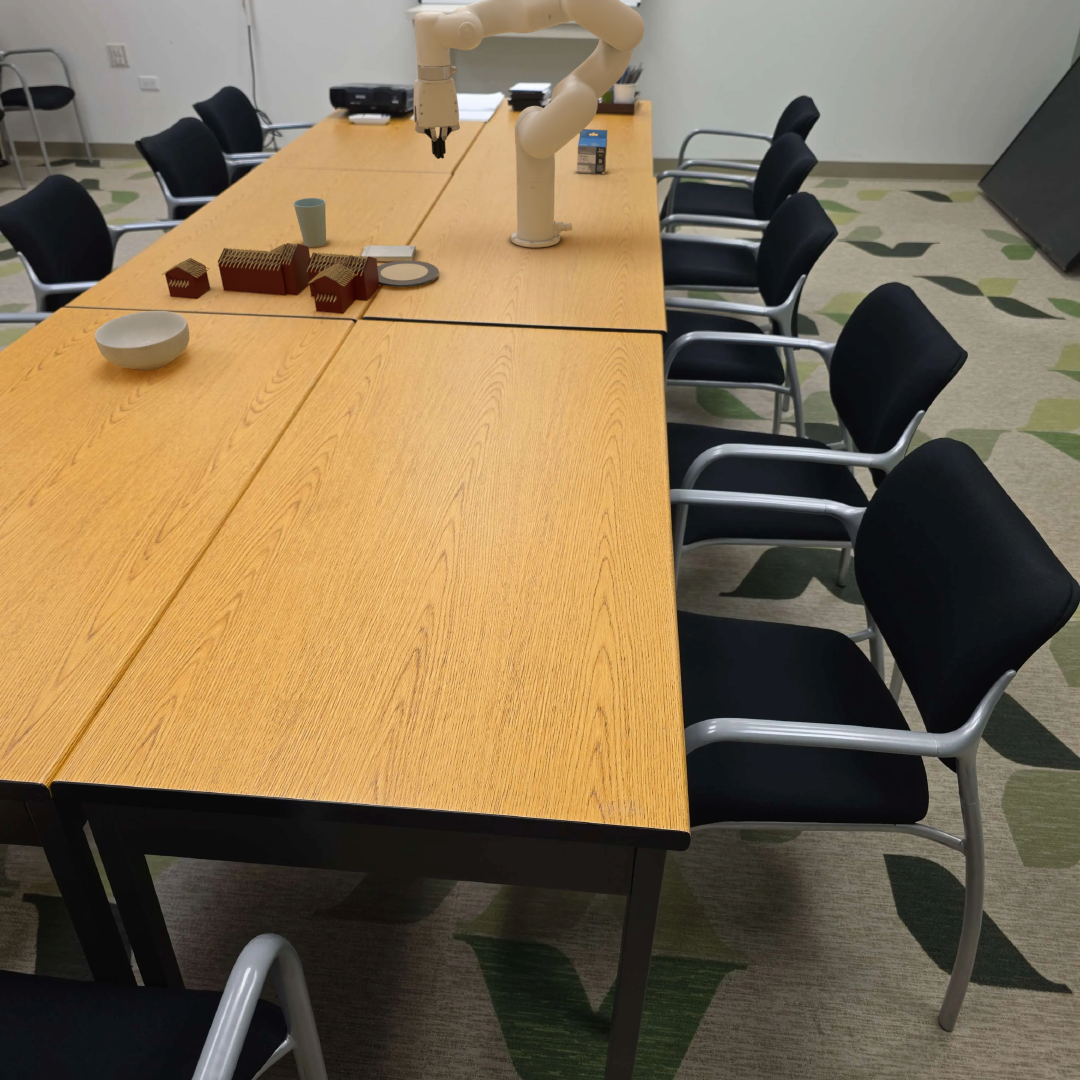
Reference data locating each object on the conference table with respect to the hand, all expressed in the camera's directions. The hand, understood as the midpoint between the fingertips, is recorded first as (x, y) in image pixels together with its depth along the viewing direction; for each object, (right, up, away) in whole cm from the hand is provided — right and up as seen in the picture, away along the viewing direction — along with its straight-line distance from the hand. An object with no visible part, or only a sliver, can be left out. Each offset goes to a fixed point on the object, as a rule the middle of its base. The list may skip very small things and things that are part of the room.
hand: (439, 157), depth 221 cm
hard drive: (-13, -23, +5) cm, 27 cm away
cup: (-33, -17, +12) cm, 39 cm away
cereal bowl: (-51, -58, -44) cm, 89 cm away
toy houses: (-36, -37, -14) cm, 53 cm away
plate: (-7, -31, -7) cm, 33 cm away
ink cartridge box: (+41, +24, +68) cm, 83 cm away
